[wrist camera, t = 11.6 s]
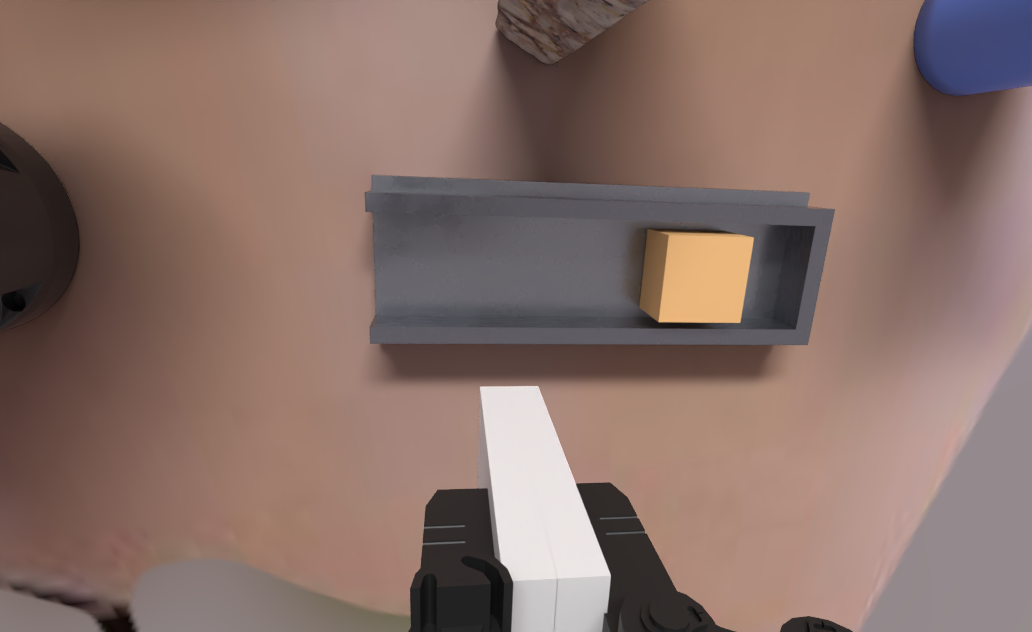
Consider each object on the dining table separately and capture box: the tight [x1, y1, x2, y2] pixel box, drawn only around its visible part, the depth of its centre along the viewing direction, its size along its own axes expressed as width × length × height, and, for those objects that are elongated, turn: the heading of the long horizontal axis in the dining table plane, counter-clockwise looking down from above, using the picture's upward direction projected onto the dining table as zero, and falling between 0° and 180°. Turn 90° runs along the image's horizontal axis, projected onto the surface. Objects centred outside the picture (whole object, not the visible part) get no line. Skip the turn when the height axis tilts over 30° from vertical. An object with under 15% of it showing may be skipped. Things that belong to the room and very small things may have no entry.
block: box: [639, 229, 754, 323], centre depth 38 cm, size 6×6×4 cm
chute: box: [365, 175, 835, 345], centre depth 38 cm, size 32×12×4 cm, turn 88°
